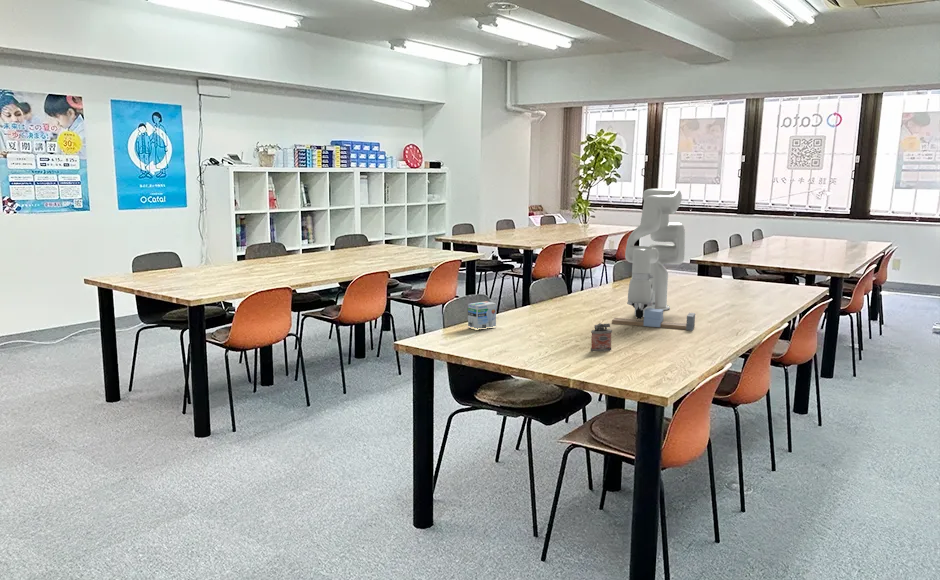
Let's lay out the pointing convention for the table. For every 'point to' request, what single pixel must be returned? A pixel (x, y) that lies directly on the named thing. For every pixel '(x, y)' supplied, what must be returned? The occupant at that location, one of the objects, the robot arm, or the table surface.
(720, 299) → the table surface
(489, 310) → the light bulb box
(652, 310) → the block
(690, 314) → the rail
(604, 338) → the lighter
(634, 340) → the table surface
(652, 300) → the ink box
